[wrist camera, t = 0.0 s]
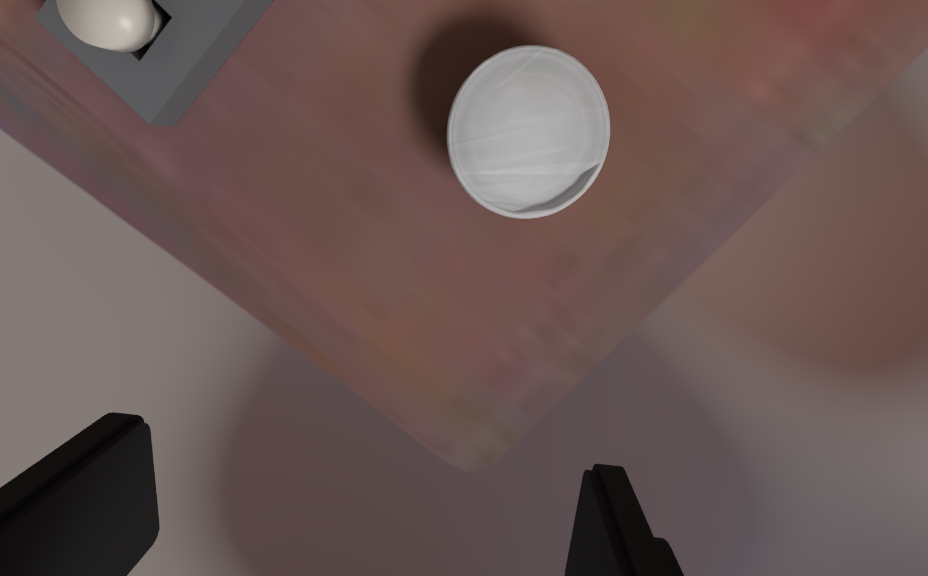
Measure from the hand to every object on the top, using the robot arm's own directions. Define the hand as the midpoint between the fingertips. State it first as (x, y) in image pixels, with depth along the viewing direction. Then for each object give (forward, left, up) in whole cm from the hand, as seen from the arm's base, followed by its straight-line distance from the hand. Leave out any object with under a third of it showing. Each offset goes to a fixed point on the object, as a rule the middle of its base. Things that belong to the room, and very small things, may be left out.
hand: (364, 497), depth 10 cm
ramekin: (-9, -2, -32) cm, 33 cm away
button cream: (+5, -27, -30) cm, 40 cm away
